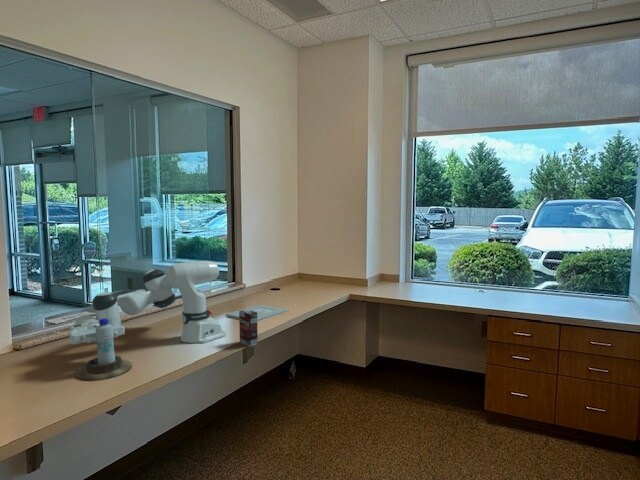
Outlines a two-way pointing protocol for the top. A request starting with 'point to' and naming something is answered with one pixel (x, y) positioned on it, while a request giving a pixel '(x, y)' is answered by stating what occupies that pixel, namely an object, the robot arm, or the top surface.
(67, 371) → the top surface
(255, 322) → the supplement box
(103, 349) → the bottle
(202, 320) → the robot arm
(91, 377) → the coaster
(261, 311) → the award plaque
